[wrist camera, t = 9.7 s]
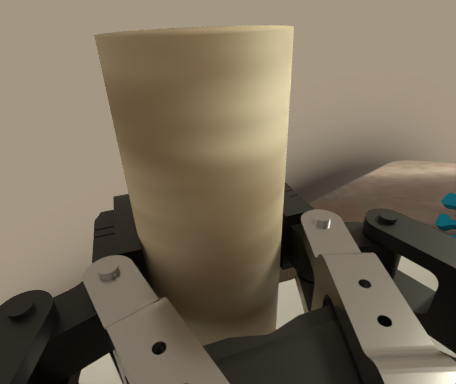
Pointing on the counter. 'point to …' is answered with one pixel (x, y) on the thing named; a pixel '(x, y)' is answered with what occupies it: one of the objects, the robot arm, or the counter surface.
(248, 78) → the peg
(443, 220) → the gear
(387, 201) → the counter surface
